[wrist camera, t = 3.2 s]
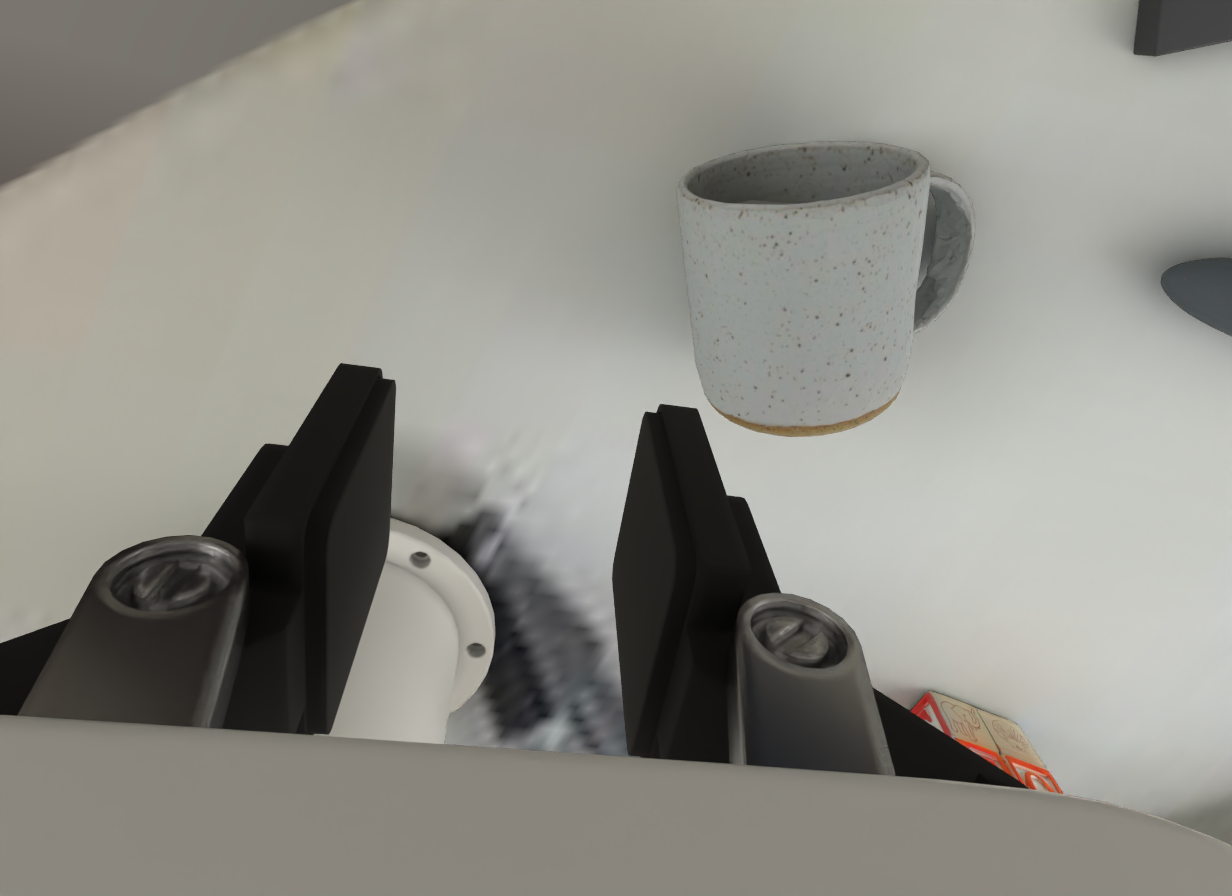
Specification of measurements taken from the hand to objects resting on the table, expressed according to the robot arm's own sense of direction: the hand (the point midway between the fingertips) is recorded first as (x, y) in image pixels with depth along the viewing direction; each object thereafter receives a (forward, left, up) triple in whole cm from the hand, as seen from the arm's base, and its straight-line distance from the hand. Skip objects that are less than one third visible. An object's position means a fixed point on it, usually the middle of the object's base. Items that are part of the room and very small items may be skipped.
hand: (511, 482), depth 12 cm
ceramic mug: (+10, 0, -19) cm, 22 cm away
